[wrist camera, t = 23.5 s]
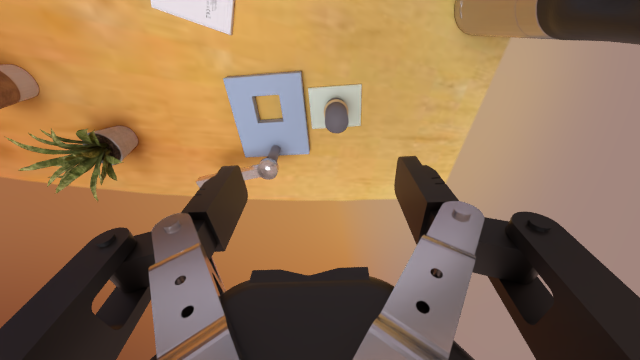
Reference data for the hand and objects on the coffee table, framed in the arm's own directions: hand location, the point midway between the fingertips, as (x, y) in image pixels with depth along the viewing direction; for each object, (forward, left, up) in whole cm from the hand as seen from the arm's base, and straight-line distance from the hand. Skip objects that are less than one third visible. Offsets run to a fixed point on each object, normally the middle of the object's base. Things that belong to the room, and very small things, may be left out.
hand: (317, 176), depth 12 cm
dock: (+11, +8, -36) cm, 39 cm away
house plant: (+44, +9, -36) cm, 58 cm away
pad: (-2, +7, -36) cm, 37 cm away
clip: (+17, +16, -27) cm, 35 cm away
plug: (-2, +7, -36) cm, 36 cm away
